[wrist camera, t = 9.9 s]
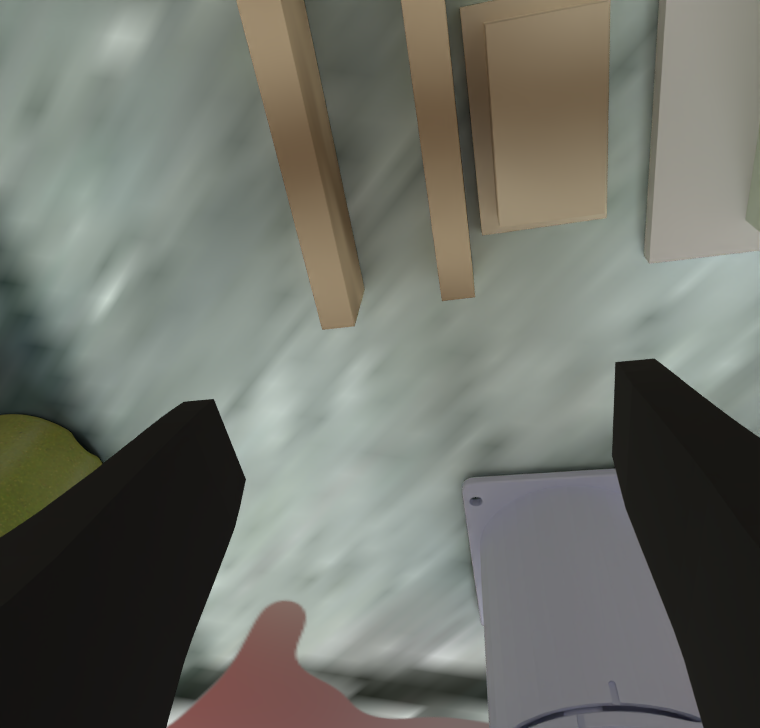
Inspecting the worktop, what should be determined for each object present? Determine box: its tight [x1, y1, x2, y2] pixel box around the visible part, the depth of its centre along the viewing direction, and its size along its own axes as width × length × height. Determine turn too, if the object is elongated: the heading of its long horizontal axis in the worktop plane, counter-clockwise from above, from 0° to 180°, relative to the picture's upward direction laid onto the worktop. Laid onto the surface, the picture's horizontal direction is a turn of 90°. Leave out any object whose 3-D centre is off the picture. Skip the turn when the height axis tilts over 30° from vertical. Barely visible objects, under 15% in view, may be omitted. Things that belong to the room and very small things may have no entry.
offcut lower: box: [460, 0, 610, 235], centre depth 17 cm, size 6×4×1 cm, turn 11°
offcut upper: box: [483, 0, 609, 227], centre depth 16 cm, size 5×3×1 cm, turn 10°
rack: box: [236, 0, 475, 330], centre depth 16 cm, size 9×5×2 cm, turn 10°
